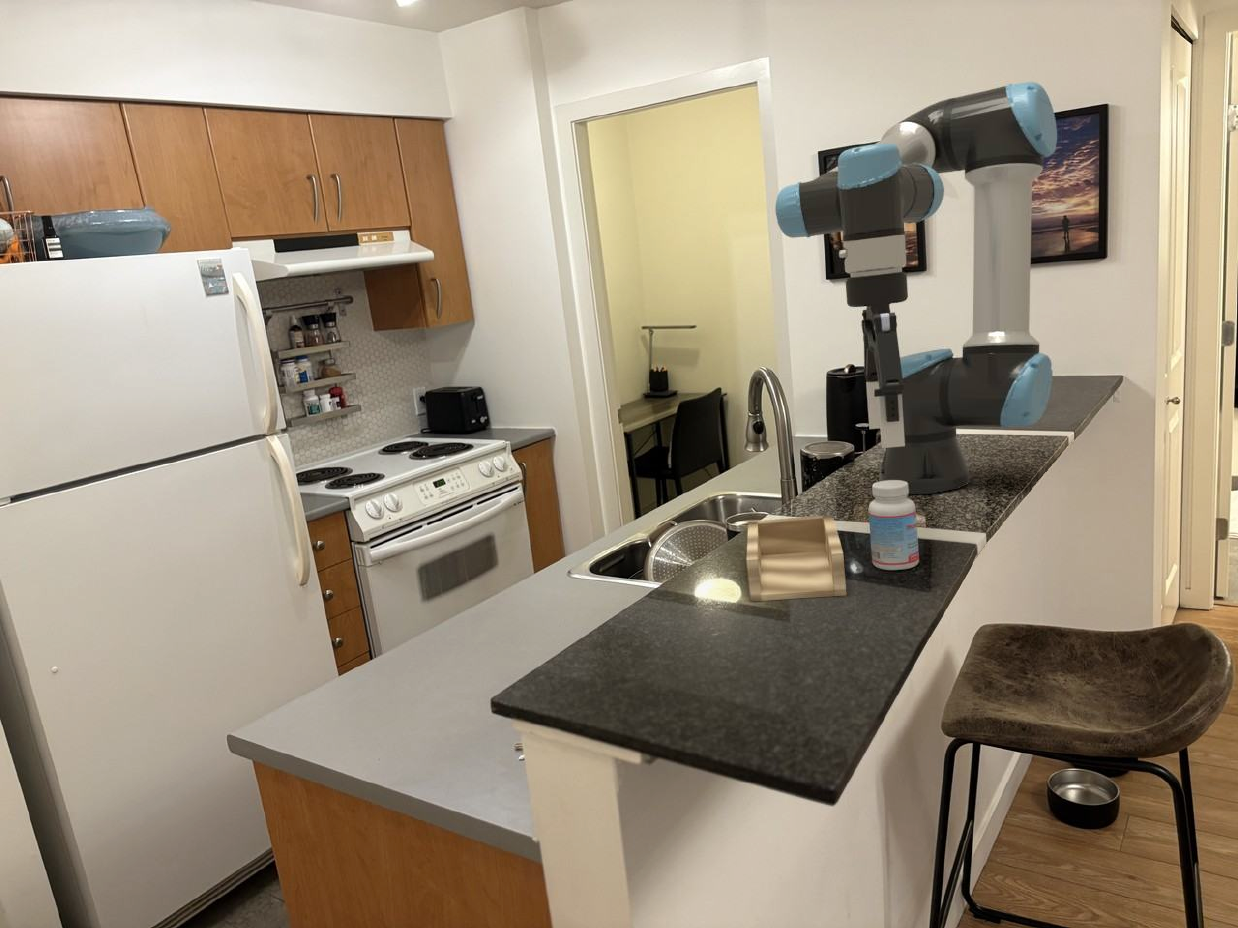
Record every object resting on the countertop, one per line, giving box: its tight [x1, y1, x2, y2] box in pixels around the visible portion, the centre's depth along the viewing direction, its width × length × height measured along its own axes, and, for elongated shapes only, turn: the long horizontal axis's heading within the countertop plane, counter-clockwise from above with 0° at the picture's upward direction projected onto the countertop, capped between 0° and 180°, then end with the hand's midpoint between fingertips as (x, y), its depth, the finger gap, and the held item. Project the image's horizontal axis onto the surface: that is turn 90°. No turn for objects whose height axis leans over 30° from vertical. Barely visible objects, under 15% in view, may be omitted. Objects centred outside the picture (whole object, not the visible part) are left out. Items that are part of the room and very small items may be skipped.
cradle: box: [746, 514, 847, 602], centre depth 125 cm, size 18×12×6 cm
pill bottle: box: [868, 480, 920, 571], centre depth 124 cm, size 6×6×11 cm
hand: (886, 437), depth 121 cm, fingers open, 13 cm apart
